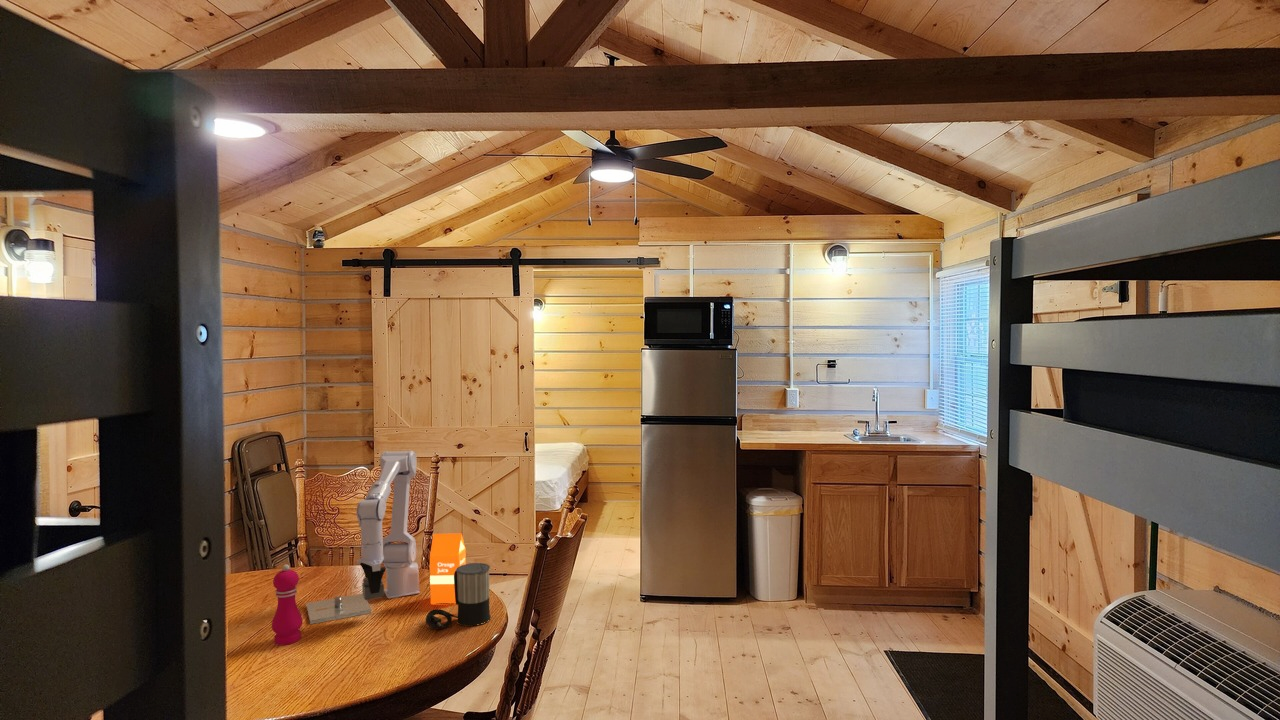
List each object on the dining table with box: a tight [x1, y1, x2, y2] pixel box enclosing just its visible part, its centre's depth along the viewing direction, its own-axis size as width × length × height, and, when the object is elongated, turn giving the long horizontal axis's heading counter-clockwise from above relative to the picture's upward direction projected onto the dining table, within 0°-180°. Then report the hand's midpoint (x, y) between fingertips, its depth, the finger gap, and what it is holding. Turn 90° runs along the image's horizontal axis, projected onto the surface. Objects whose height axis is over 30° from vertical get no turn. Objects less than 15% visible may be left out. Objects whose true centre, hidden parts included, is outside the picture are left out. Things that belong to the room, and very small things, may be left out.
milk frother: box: [425, 562, 492, 630], centre depth 195 cm, size 14×16×15 cm
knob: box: [361, 577, 385, 601], centre depth 199 cm, size 5×5×5 cm
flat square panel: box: [305, 592, 372, 625], centre depth 207 cm, size 16×16×4 cm
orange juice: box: [429, 533, 467, 605], centre depth 213 cm, size 8×9×20 cm
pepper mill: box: [271, 564, 303, 646], centre depth 185 cm, size 7×7×20 cm
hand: (373, 589), depth 199 cm, fingers closed on knob, 5 cm apart
